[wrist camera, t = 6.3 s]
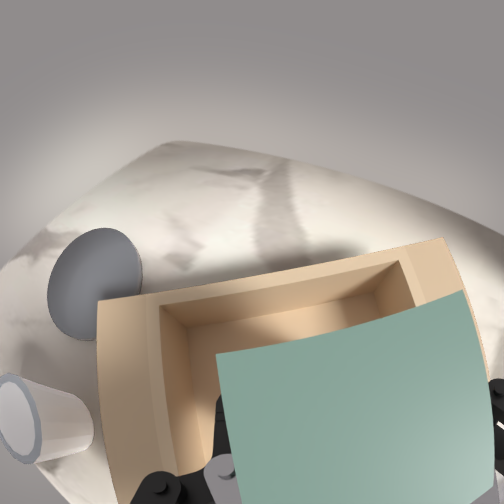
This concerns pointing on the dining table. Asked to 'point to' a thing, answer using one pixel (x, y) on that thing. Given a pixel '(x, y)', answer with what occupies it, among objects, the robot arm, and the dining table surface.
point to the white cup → (41, 421)
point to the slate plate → (92, 280)
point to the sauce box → (364, 413)
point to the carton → (234, 345)
